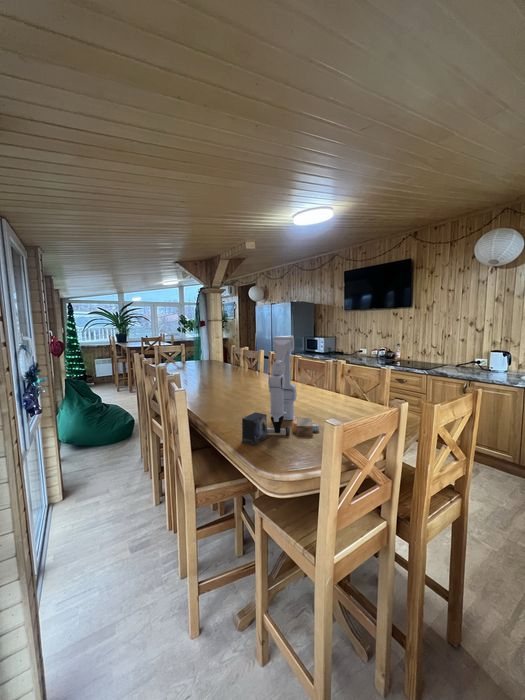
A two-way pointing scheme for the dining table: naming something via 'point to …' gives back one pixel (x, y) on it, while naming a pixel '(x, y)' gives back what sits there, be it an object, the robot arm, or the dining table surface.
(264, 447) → the dining table surface
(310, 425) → the block
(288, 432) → the keeper post
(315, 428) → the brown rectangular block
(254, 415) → the small box
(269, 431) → the bar
